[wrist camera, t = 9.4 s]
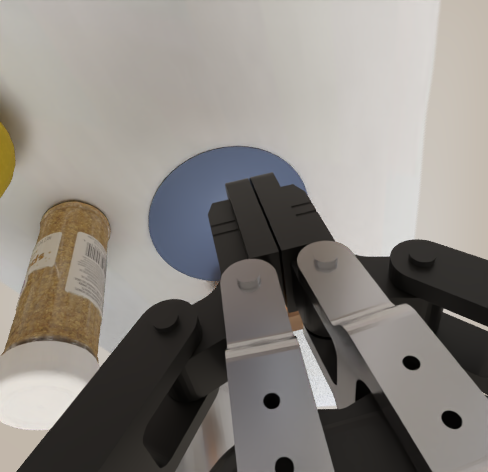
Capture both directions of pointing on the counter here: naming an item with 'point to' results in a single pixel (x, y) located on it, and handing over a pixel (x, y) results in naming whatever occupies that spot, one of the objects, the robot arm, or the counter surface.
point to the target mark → (204, 204)
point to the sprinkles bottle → (56, 319)
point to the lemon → (6, 159)
